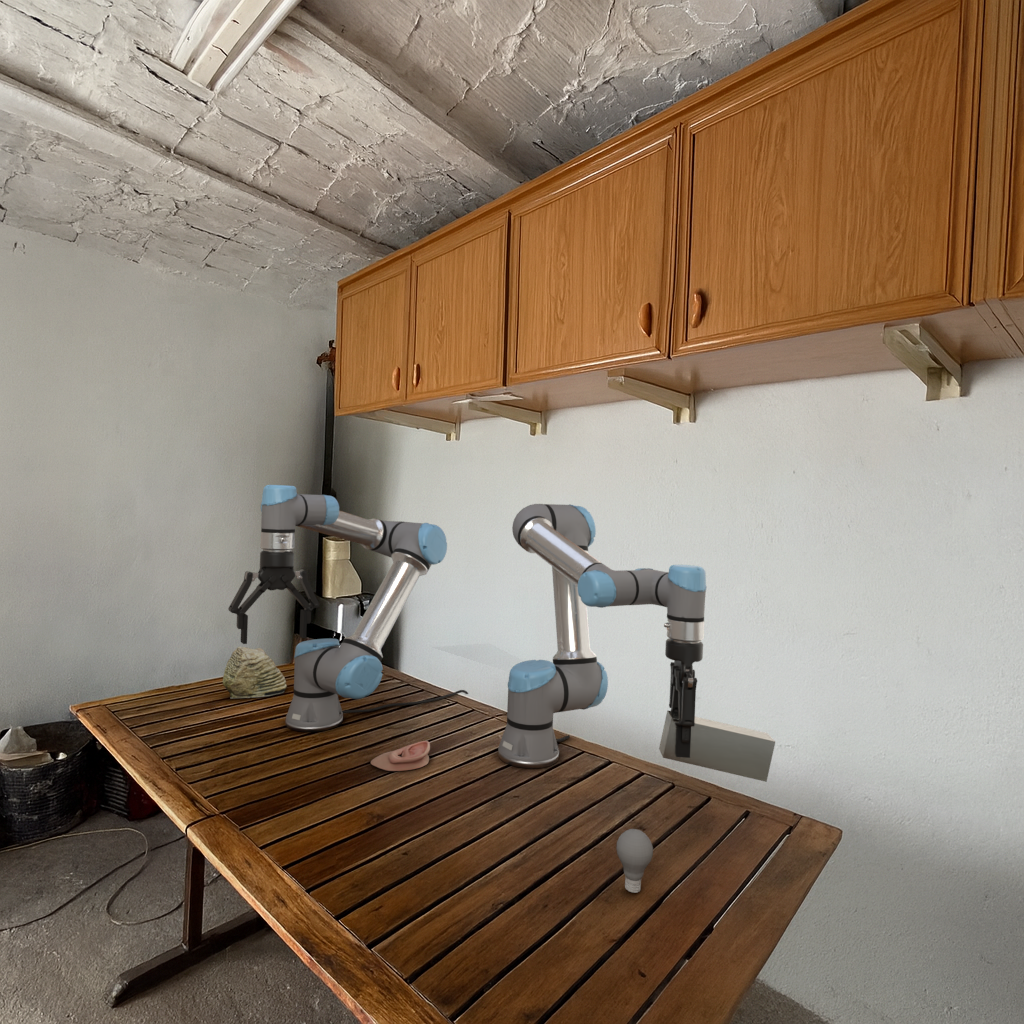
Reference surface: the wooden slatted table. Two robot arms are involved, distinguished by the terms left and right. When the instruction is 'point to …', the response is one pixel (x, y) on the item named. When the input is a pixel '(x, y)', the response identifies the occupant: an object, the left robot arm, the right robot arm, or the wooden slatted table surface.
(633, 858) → the light bulb
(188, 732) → the wooden slatted table surface
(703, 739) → the bar
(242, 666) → the fossil
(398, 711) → the wooden slatted table surface
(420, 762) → the anatomical model
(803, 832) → the wooden slatted table surface
